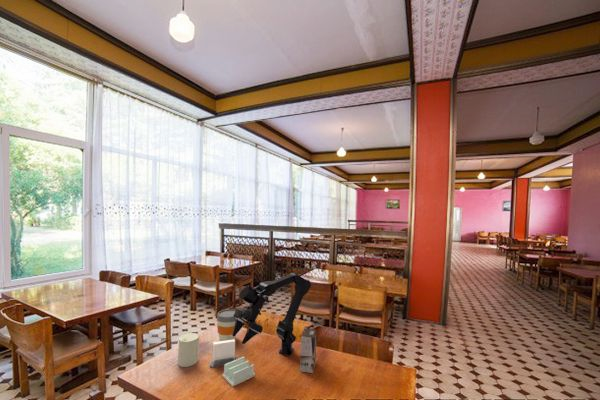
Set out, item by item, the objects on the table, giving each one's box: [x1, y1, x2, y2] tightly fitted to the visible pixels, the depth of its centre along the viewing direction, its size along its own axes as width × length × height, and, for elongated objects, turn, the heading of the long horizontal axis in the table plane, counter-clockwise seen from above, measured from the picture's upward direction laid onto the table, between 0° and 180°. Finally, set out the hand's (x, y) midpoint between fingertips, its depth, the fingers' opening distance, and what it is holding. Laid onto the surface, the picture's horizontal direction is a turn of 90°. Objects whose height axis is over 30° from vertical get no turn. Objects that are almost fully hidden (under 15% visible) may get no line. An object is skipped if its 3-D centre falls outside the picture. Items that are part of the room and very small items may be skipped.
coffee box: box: [299, 328, 317, 374], centre depth 125 cm, size 9×6×16 cm
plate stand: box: [208, 355, 238, 369], centre depth 126 cm, size 13×4×2 cm, turn 112°
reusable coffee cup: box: [216, 308, 237, 342], centre depth 149 cm, size 13×13×15 cm
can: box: [176, 332, 200, 368], centre depth 127 cm, size 9×9×12 cm
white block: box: [212, 339, 236, 365], centre depth 126 cm, size 10×2×10 cm, turn 112°
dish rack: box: [222, 356, 256, 387], centre depth 117 cm, size 11×9×5 cm
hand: (237, 339), depth 120 cm, fingers open, 9 cm apart
